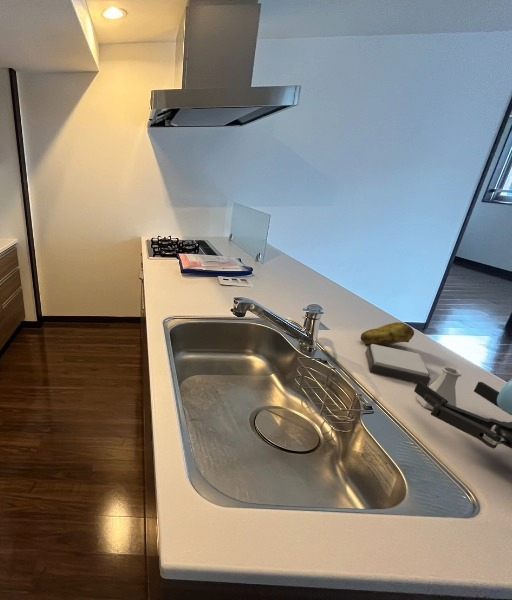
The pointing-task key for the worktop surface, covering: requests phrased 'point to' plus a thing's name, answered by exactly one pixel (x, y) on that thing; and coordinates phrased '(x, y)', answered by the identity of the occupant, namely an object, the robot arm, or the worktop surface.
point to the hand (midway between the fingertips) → (447, 386)
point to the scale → (397, 364)
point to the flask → (444, 386)
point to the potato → (388, 334)
